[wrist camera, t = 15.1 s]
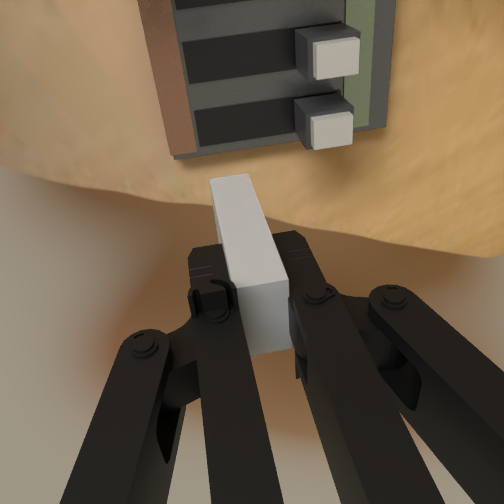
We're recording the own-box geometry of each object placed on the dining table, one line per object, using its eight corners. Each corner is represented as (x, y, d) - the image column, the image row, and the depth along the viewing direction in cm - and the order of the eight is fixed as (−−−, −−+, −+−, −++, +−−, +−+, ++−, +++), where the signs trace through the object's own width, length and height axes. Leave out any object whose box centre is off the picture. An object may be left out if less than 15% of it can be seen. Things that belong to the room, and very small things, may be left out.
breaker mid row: (296, 68, 38) (311, 84, 34) (294, 29, 36) (311, 41, 32) (342, 62, 38) (363, 77, 34) (343, 22, 36) (365, 33, 32)
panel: (171, 153, 42) (172, 160, 41) (128, -51, 33) (126, -51, 32) (379, 121, 44) (386, 127, 42) (394, -84, 35) (403, -84, 33)
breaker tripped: (295, 132, 41) (309, 154, 37) (293, 99, 39) (308, 118, 35) (338, 126, 41) (357, 146, 37) (338, 92, 40) (358, 110, 36)
